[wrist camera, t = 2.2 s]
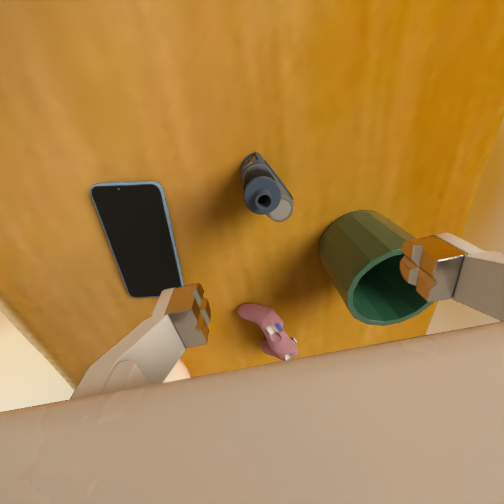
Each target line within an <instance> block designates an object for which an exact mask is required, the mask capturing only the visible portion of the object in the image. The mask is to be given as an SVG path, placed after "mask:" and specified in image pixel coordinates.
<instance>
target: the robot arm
mask: <svg viewBox="0 0 504 504" xmlns="http://www.w3.org/2000/svg"><path fill="white" fill-rule="evenodd" d="M401 251H402V253H403V254H404V257H403V258H402V259H401V260H400V271H401V275H402V276H403V278H404V279H405V280H406V281H407V282H408V283H409V284H412V285H415V286H416V291H417V292H418V293H419V294H420V295H421V296H422V297H423V298H424V299H425V300H426V301H427V302H433V301H439V300H445V299H451V298H453V300H455V301H458V302H460V303H462V304H464V305H466V306H469V307H471V308H474V309H475V310H478V311H480V312H482V313H484V314H486V315H489V316H491V317H493V318H495V319H498V320H500V321H502V322H497V323H492V324H486V325H481V326H475V327H469V328H464V329H458V330H453V331H448V332H441V333H436V334H430V335H424V336H419V337H413V338H408V339H402V340H397V341H391V342H385V343H380V344H374V345H369V346H363V347H358V348H352V349H347V350H341V351H336V352H330V353H325V354H319V355H314V356H308V357H303V358H297V359H292V360H286V361H281V362H275V363H270V364H264V365H259V366H253V367H248V368H242V369H237V370H231V371H226V372H220V373H215V374H209V375H203V376H198V377H192V378H187V379H181V380H176V381H170V382H165V383H163V381H164V380H165V378H166V377H167V376H168V374H169V373H170V371H171V370H172V369H173V367H174V366H175V364H176V363H177V362H178V360H179V359H180V357H181V356H182V355H183V353H184V352H185V350H186V348H191V347H195V346H200V345H204V344H207V341H208V334H209V329H208V327H207V325H208V324H209V322H210V319H211V311H210V306H209V302H208V300H207V299H206V298H205V297H203V294H204V290H203V287H202V285H201V284H200V283H196V284H191V285H185V286H180V287H176V288H175V287H174V288H169V289H165V290H163V291H162V292H161V294H160V296H159V299H158V301H157V303H156V305H155V308H154V310H153V312H152V314H151V317H150V318H147V319H145V320H144V321H143V322H142V323H140V324H139V325H138V326H137V327H136V328H134V329H133V330H132V331H131V332H130V333H128V334H127V335H126V336H125V337H124V338H123V339H121V340H120V341H119V342H118V343H117V344H115V345H114V346H113V347H112V348H111V349H110V350H108V351H107V352H106V353H105V354H104V355H102V356H101V357H100V358H99V359H98V360H96V361H95V362H94V363H93V364H92V365H91V366H89V368H88V370H87V371H86V373H85V375H84V376H83V378H82V380H81V381H80V383H79V385H78V386H77V388H76V390H75V391H74V393H73V395H72V396H71V398H70V400H65V401H60V402H54V403H49V404H43V405H38V406H32V407H27V408H21V409H15V410H10V411H4V412H0V504H504V253H499V252H494V251H486V252H485V251H483V250H481V249H479V248H478V247H476V246H474V245H472V244H470V243H468V242H466V241H464V240H463V239H461V238H459V237H457V236H455V235H453V234H451V233H447V232H444V233H439V234H435V235H431V236H428V237H423V238H418V239H414V240H409V241H405V242H404V243H403V245H402V250H401Z"/></svg>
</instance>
